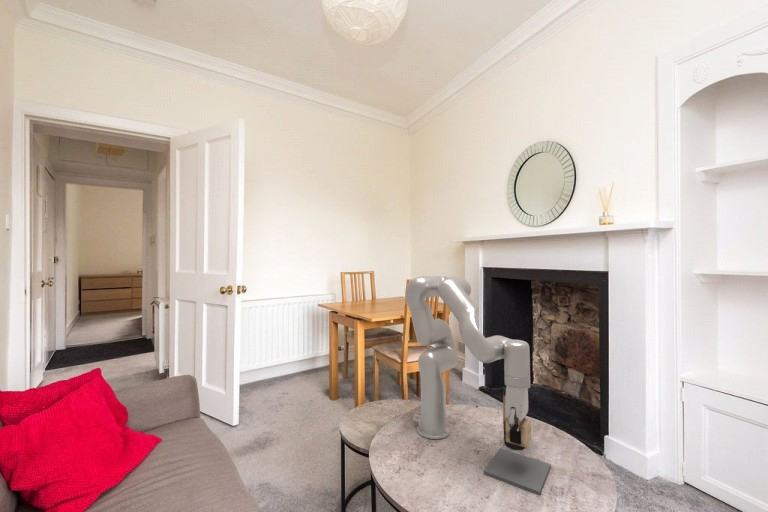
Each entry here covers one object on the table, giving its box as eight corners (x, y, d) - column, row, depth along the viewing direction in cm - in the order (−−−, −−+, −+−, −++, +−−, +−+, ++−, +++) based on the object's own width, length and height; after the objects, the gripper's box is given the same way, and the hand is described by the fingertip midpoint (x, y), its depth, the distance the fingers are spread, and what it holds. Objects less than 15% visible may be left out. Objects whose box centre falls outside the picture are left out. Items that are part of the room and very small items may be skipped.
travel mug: (528, 451, 115) (527, 393, 116) (505, 449, 117) (504, 391, 117) (523, 440, 123) (523, 385, 123) (501, 438, 124) (501, 383, 125)
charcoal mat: (483, 474, 103) (483, 470, 103) (500, 450, 116) (500, 447, 116) (539, 495, 94) (539, 491, 94) (550, 467, 107) (550, 464, 107)
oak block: (505, 441, 104) (505, 422, 104) (511, 433, 109) (511, 415, 109) (526, 447, 101) (525, 427, 101) (531, 439, 105) (530, 420, 106)
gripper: (512, 371, 115) (513, 424, 114) (496, 385, 101) (497, 446, 100) (536, 375, 110) (537, 430, 110) (522, 391, 96) (523, 454, 96)
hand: (518, 437), depth 105 cm, fingers closed on oak block, 6 cm apart
